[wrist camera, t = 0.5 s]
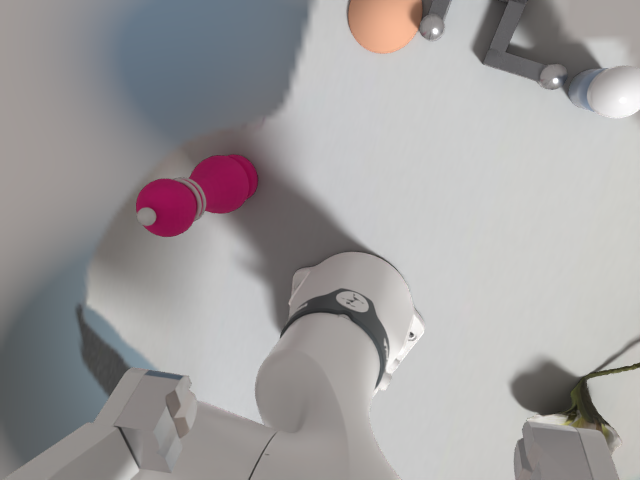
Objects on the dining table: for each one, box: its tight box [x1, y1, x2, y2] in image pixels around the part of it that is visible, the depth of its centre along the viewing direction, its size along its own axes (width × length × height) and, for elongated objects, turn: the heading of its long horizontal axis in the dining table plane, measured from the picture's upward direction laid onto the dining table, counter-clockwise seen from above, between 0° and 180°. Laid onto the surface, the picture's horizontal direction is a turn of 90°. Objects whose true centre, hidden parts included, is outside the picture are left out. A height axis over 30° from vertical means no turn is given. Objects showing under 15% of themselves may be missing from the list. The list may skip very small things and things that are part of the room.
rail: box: [420, 0, 568, 90], centre depth 46 cm, size 8×15×2 cm, turn 73°
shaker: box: [568, 66, 640, 118], centre depth 42 cm, size 4×4×11 cm
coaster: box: [348, 0, 423, 53], centre depth 50 cm, size 8×8×1 cm
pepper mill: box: [136, 154, 258, 237], centre depth 53 cm, size 7×7×20 cm
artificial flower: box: [526, 363, 640, 455], centre depth 53 cm, size 9×22×10 cm, turn 137°
